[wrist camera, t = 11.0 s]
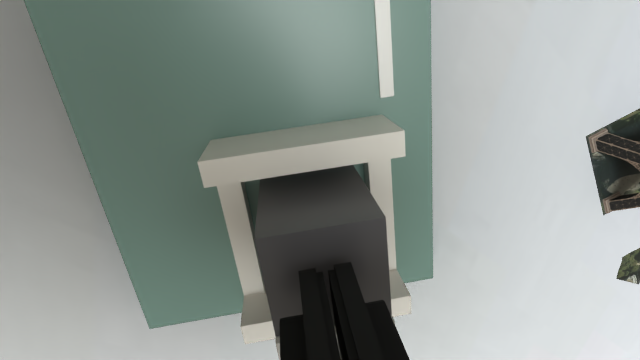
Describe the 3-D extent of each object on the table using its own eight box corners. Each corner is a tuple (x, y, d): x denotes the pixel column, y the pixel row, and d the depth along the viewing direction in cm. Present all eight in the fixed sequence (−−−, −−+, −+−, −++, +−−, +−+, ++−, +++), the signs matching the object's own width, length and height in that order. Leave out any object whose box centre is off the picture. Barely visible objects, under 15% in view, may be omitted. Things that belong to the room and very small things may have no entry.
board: (-14, -152, 12) (-144, -238, 9) (415, -192, 13) (474, -285, 10) (156, 312, 20) (128, 379, 16) (424, 265, 21) (459, 317, 17)
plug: (260, 170, 16) (253, 244, 11) (348, 157, 17) (388, 221, 11) (279, 264, 18) (281, 370, 12) (357, 250, 19) (396, 348, 13)
